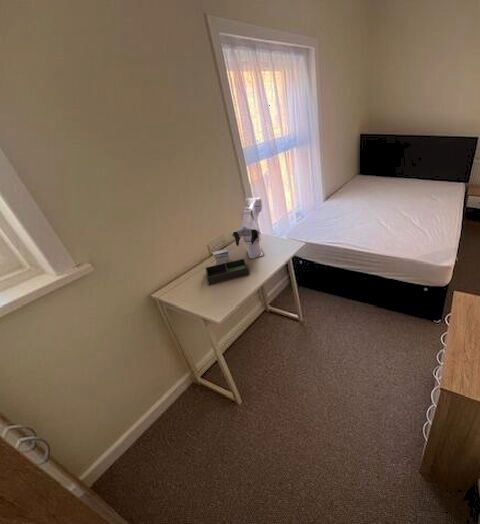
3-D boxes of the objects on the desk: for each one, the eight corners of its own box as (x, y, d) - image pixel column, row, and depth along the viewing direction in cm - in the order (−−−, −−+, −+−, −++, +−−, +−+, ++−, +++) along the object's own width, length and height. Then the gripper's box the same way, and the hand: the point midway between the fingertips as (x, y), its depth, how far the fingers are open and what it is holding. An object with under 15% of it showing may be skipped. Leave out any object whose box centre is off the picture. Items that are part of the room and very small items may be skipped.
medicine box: (217, 268, 161) (213, 255, 156) (216, 264, 164) (212, 251, 159) (231, 264, 164) (228, 251, 159) (230, 260, 167) (226, 248, 162)
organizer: (207, 274, 156) (205, 267, 153) (245, 265, 163) (243, 258, 160) (209, 285, 148) (206, 277, 145) (248, 274, 155) (247, 267, 152)
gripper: (231, 221, 151) (227, 239, 142) (258, 219, 152) (256, 236, 143) (234, 231, 156) (232, 249, 147) (261, 228, 157) (260, 246, 148)
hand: (244, 243), depth 145 cm, fingers open, 7 cm apart
